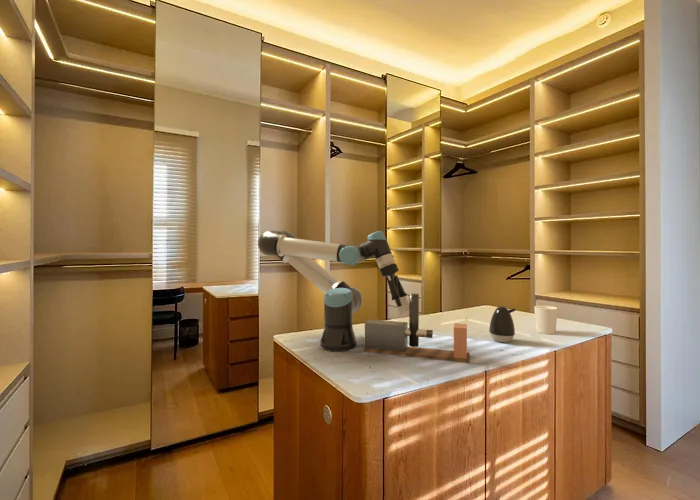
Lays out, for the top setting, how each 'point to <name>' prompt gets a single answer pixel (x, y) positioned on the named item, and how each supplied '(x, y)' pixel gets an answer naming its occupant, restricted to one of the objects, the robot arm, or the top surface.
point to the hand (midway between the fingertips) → (406, 312)
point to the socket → (460, 340)
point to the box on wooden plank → (386, 335)
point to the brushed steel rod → (415, 322)
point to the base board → (424, 353)
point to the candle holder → (545, 319)
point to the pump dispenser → (502, 325)
